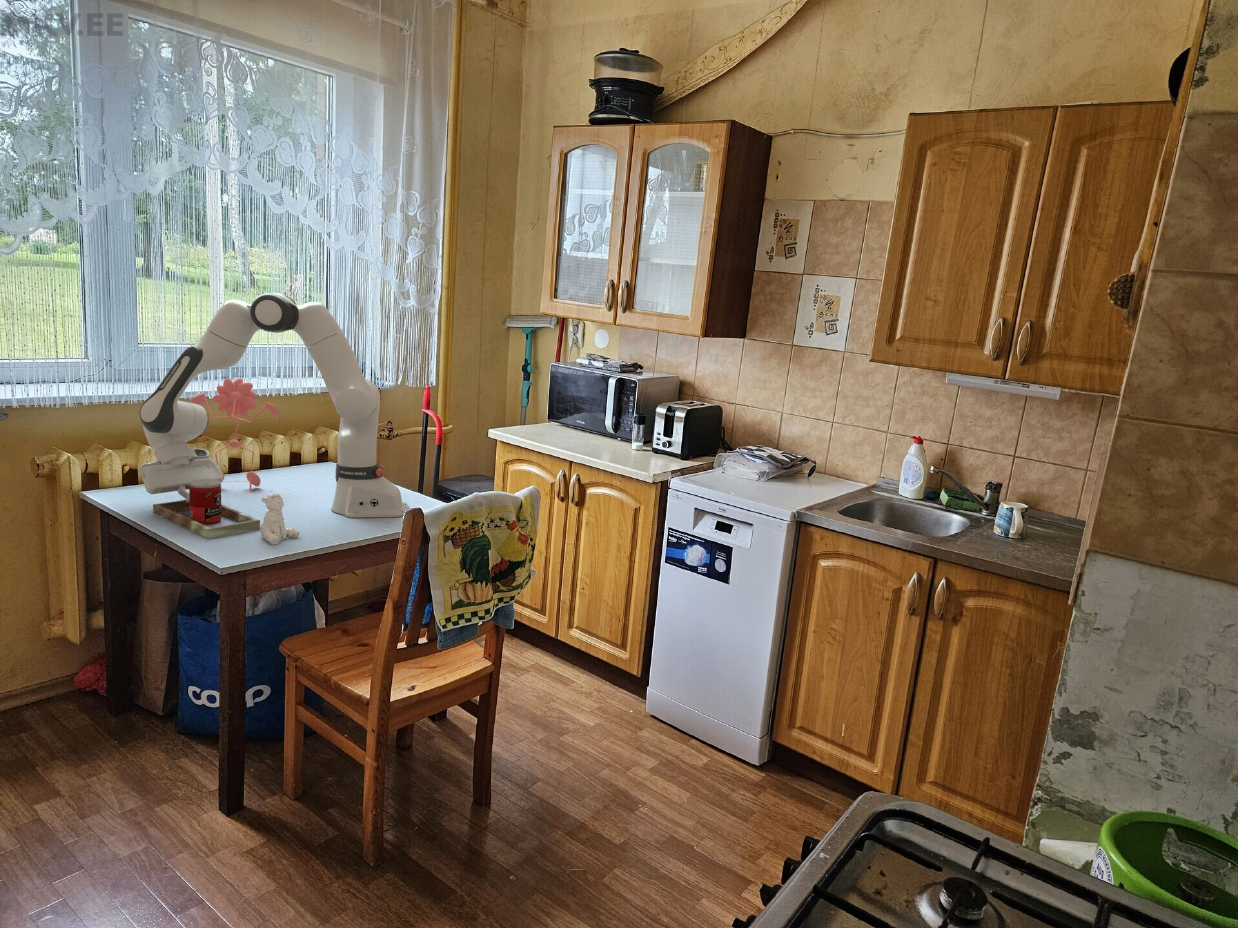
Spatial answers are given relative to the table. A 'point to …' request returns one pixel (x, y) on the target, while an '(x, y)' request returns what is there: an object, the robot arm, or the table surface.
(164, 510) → the shallow wooden tray
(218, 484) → the canned food
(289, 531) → the sitting furry creature
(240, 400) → the flower headed marionette
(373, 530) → the table surface
